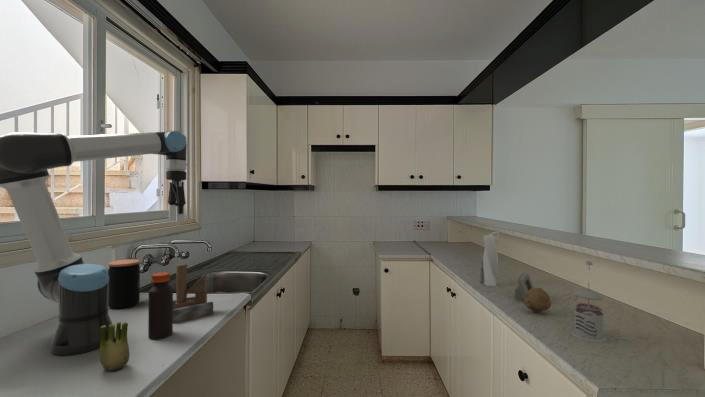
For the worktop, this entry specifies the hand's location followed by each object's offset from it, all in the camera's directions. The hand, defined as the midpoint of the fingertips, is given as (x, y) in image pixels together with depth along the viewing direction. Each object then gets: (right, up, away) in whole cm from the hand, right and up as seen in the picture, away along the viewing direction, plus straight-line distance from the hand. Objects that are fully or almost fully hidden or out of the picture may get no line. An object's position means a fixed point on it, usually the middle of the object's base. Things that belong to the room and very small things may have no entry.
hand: (176, 220), depth 136 cm
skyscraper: (+147, -36, +33) cm, 155 cm away
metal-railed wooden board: (+11, -35, -12) cm, 39 cm away
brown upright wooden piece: (+12, -34, -11) cm, 38 cm away
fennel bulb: (+12, -36, -51) cm, 63 cm away
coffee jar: (-20, -35, -3) cm, 40 cm away
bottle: (+12, -35, -31) cm, 49 cm away
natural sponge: (+149, -36, -8) cm, 153 cm away
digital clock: (+154, -36, +10) cm, 158 cm away
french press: (+153, -37, -28) cm, 159 cm away
